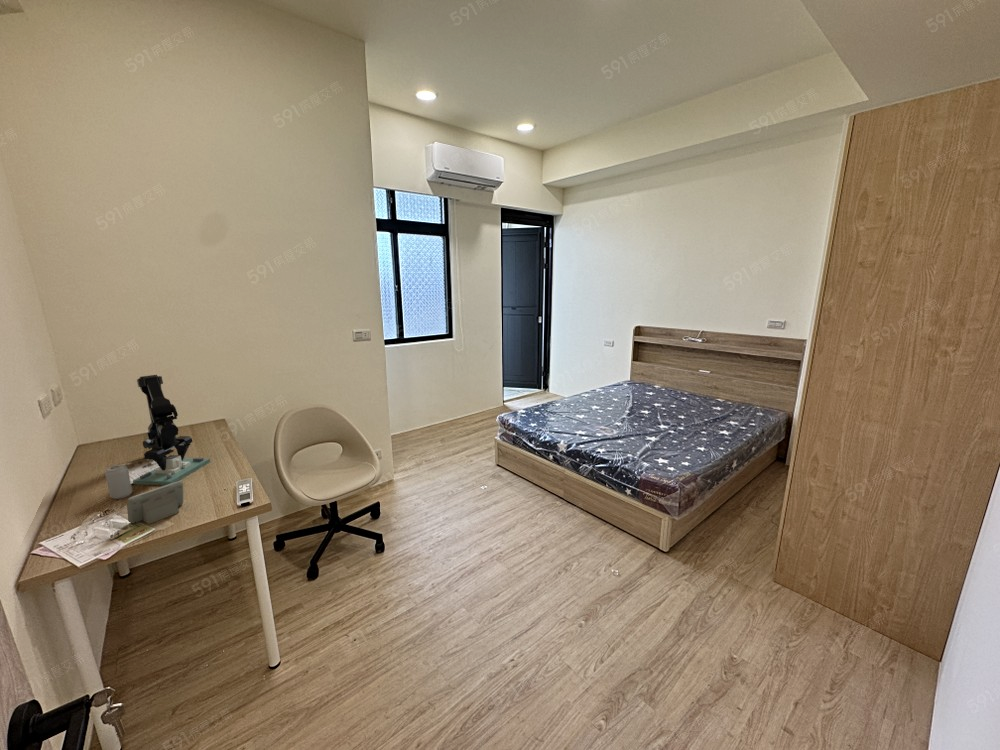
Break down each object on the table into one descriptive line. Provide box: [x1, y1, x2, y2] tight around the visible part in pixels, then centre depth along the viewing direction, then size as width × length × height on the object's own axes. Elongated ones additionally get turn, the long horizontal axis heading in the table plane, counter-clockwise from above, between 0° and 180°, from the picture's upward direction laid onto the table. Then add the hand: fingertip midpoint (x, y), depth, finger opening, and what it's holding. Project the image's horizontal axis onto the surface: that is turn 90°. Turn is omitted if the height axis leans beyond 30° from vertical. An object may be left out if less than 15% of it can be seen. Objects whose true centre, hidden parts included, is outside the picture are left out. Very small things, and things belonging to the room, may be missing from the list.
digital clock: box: [126, 480, 184, 525], centre depth 143 cm, size 16×9×11 cm, turn 136°
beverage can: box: [104, 464, 134, 500], centre depth 156 cm, size 6×6×12 cm
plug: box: [166, 454, 183, 469], centre depth 176 cm, size 4×6×7 cm
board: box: [132, 457, 211, 486], centre depth 176 cm, size 22×16×3 cm
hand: (172, 465), depth 176 cm, fingers open, 9 cm apart
